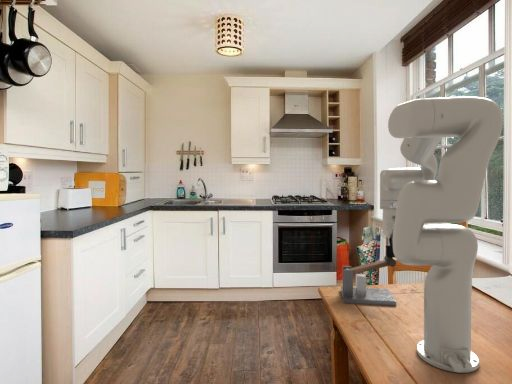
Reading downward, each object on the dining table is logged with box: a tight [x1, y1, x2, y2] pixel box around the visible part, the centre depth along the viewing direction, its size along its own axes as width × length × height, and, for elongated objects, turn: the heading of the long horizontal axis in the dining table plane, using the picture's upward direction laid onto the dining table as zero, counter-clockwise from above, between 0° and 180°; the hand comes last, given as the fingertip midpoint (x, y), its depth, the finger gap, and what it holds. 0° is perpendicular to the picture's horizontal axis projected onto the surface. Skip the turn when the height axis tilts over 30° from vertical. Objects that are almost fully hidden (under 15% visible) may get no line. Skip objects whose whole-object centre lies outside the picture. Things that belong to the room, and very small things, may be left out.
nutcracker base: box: [340, 265, 397, 307], centre depth 112 cm, size 12×17×10 cm
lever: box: [347, 255, 397, 275], centre depth 111 cm, size 6×17×3 cm, turn 79°
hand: (391, 256), depth 110 cm, fingers closed
